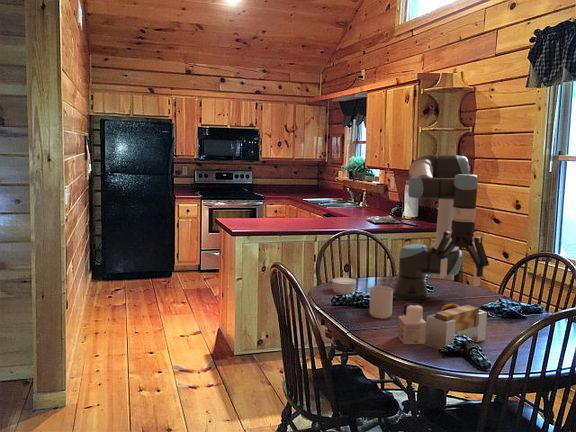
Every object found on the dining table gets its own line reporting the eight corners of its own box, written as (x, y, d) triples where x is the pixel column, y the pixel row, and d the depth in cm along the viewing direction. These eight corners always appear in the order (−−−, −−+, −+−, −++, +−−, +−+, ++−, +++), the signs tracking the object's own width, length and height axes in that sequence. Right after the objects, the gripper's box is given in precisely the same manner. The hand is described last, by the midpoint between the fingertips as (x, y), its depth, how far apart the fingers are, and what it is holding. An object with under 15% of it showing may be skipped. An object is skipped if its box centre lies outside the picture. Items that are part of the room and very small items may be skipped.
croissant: (449, 319, 224) (441, 301, 225) (472, 311, 220) (464, 293, 221) (441, 334, 205) (433, 314, 206) (467, 325, 201) (458, 305, 201)
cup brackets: (464, 332, 197) (466, 305, 196) (485, 339, 191) (487, 312, 189) (425, 344, 185) (426, 316, 183) (445, 352, 178) (446, 322, 176)
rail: (466, 322, 194) (468, 304, 193) (477, 325, 190) (479, 307, 189) (434, 331, 183) (435, 312, 183) (444, 335, 180) (446, 316, 179)
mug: (390, 320, 210) (391, 292, 208) (367, 317, 212) (368, 290, 211) (394, 311, 221) (395, 285, 219) (372, 309, 224) (373, 283, 222)
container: (397, 336, 192) (399, 301, 190) (418, 336, 193) (420, 301, 191) (403, 344, 184) (405, 307, 183) (425, 344, 185) (428, 307, 183)
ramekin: (340, 296, 242) (341, 284, 241) (326, 290, 252) (327, 279, 251) (360, 293, 248) (361, 282, 247) (346, 287, 257) (346, 276, 257)
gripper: (426, 216, 190) (423, 274, 193) (489, 226, 170) (484, 291, 173) (440, 214, 194) (437, 272, 197) (503, 224, 174) (498, 288, 177)
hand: (459, 281), depth 185 cm, fingers open, 13 cm apart
